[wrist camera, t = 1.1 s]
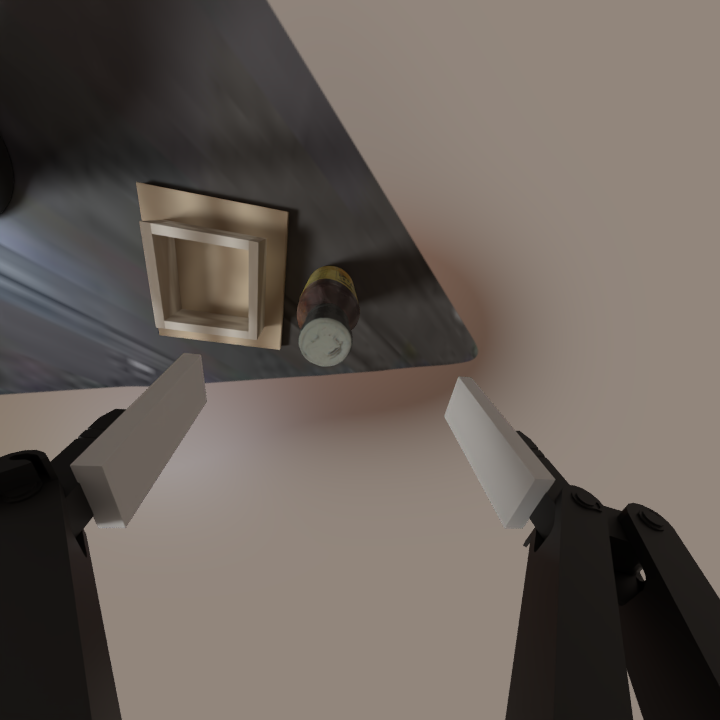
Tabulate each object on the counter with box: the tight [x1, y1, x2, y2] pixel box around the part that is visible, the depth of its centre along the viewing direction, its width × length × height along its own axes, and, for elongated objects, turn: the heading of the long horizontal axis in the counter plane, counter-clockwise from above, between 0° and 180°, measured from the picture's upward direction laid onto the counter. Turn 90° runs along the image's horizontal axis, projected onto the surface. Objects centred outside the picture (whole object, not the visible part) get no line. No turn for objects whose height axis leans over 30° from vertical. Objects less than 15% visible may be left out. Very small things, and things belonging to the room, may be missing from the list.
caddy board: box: [136, 182, 289, 350], centre depth 34 cm, size 16×18×6 cm
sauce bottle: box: [297, 266, 360, 366], centre depth 30 cm, size 7×6×20 cm
